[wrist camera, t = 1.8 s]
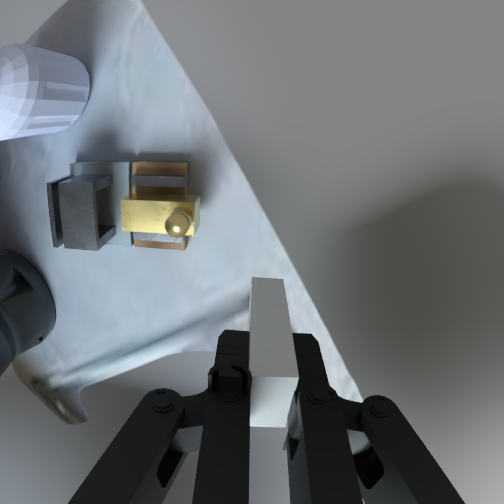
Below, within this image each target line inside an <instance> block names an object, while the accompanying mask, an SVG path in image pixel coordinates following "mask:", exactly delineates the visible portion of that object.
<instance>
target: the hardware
mask: <svg viewBox="0 0 504 504" xmlns="http://www.w3.org/2000/svg"><path fill="white" fill-rule="evenodd" d="M185 183H186V175H154V174H134V175H132V176H131V186H158V187H184V186H185ZM111 184H113V174H81V175H78V176H75V175H68V176H65V177H62V178H60V179H57V180H54V181H51V182H49V183H47V194H48V206H49V216H50V224H51V232H52V240H53V246H54V247H59V246H61V245H62V244H63V243H64V247H65V248H70V249H81V250H92V251H98V250H99V249H100V248H101V247H102V246H104V245H105V244H106V243H107V242H108V241H109V240H110V239H111V238H113V237H114V236H115V235H116V231H115V226H107V225H98V221H97V206H96V191H99V190H101V189H103V188H105V187H107V186H109V185H111ZM133 239H134V240H148V241H161V242H175V243H183V241H184V240H185V235H184V236H183V237H181V238H174V237H171V236H170V235H169V234H162V233H147V232H133Z"/></svg>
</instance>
